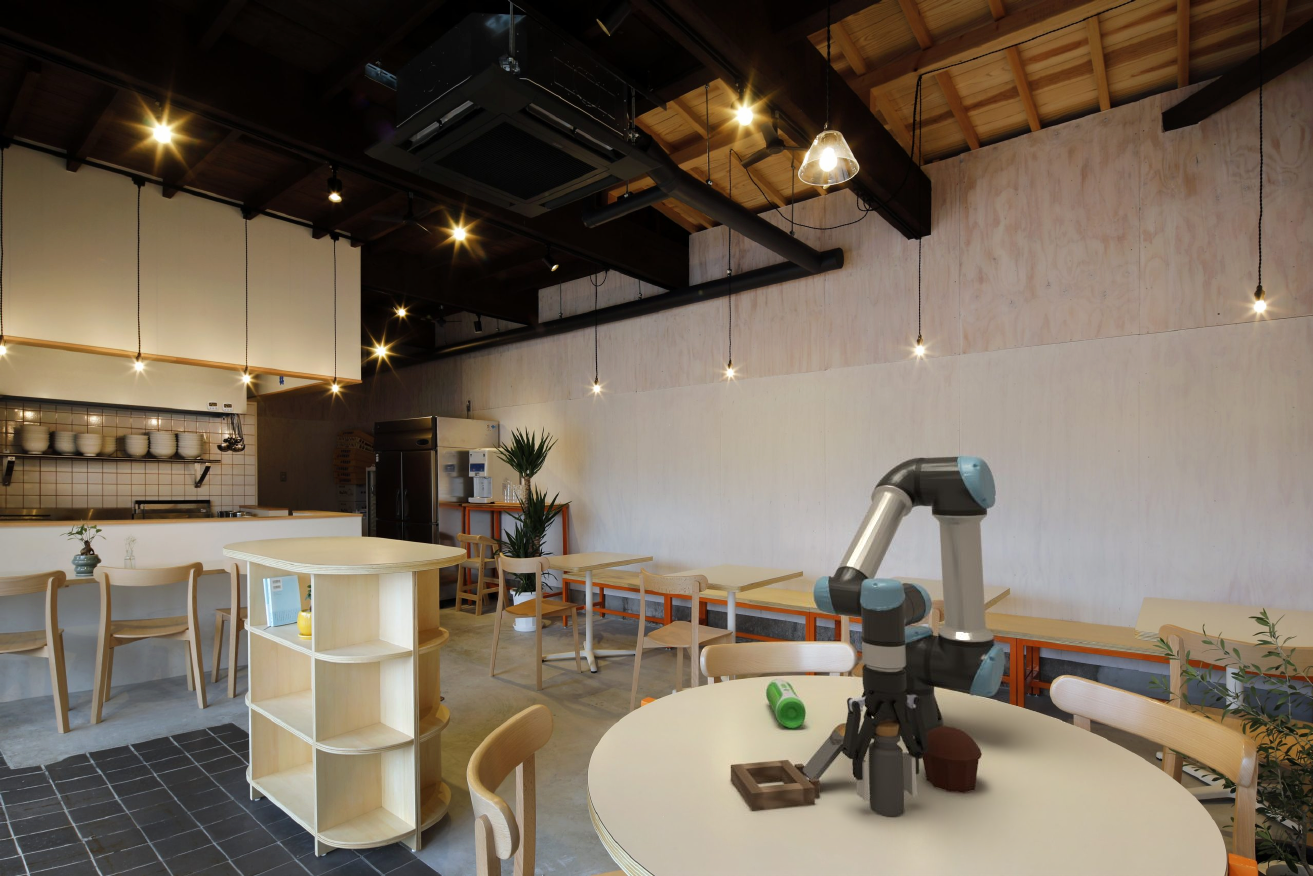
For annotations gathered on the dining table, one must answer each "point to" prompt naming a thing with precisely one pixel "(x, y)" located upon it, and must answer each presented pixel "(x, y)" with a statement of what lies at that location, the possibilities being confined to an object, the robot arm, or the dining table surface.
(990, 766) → the dining table surface
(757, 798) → the socket block
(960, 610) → the robot arm
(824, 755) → the bar
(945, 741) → the muffin
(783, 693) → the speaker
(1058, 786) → the dining table surface
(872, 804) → the bottle
